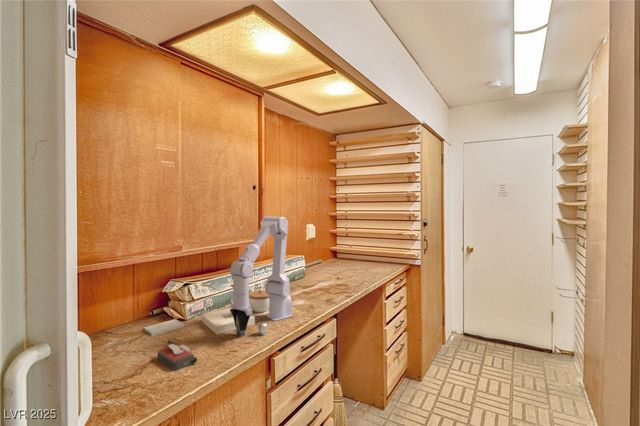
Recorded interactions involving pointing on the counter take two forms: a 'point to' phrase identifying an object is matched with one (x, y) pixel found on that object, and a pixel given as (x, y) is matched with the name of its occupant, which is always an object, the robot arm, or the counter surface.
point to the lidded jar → (259, 301)
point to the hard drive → (163, 327)
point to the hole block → (222, 321)
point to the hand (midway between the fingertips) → (240, 328)
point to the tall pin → (238, 332)
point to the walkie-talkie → (176, 356)
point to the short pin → (262, 328)
